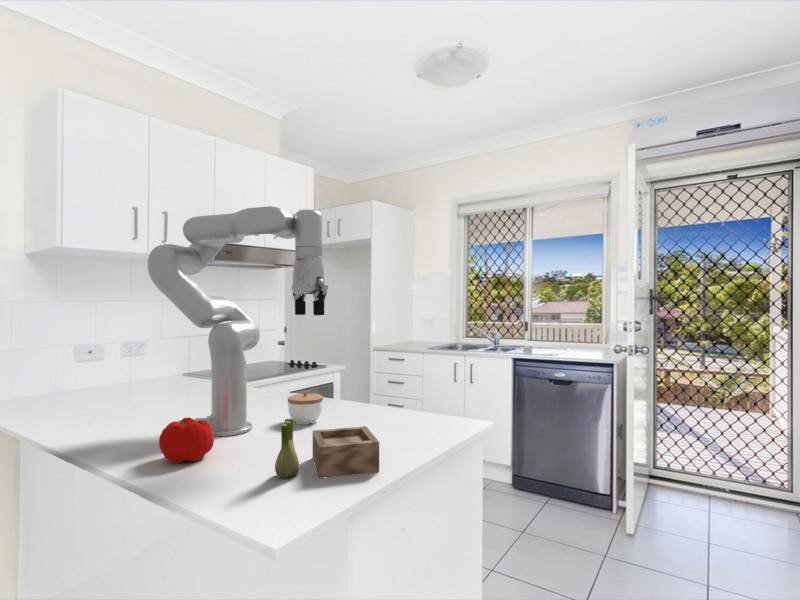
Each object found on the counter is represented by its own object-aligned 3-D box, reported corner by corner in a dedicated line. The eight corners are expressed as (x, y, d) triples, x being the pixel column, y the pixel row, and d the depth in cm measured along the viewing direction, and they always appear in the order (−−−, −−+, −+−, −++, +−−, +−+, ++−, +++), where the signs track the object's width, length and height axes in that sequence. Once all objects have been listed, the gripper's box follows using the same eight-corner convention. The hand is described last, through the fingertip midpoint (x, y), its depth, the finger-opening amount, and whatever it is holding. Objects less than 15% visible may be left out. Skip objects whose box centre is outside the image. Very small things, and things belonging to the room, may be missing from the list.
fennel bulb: (285, 483, 92) (285, 424, 92) (268, 478, 94) (268, 421, 94) (304, 473, 97) (304, 418, 97) (287, 469, 99) (287, 415, 99)
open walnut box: (319, 478, 94) (319, 447, 94) (312, 457, 106) (312, 430, 106) (379, 471, 98) (379, 441, 98) (365, 452, 110) (365, 426, 110)
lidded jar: (326, 424, 136) (326, 393, 136) (290, 428, 132) (290, 396, 132) (319, 416, 146) (319, 387, 146) (285, 419, 142) (285, 389, 142)
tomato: (211, 463, 102) (211, 424, 103) (153, 469, 99) (153, 428, 99) (216, 449, 113) (216, 413, 113) (163, 453, 109) (164, 416, 109)
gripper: (281, 256, 130) (282, 314, 130) (314, 250, 117) (314, 315, 117) (304, 257, 135) (304, 314, 135) (337, 252, 122) (338, 315, 122)
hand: (309, 314), depth 126 cm, fingers open, 9 cm apart
